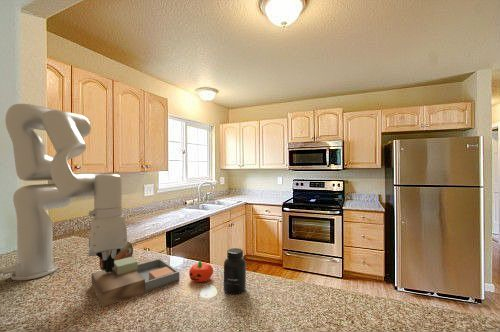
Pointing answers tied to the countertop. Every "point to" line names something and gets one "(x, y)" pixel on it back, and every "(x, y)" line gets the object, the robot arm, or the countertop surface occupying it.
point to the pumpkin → (200, 272)
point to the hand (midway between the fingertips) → (108, 270)
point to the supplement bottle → (234, 272)
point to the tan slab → (117, 286)
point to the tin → (120, 254)
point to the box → (160, 281)
